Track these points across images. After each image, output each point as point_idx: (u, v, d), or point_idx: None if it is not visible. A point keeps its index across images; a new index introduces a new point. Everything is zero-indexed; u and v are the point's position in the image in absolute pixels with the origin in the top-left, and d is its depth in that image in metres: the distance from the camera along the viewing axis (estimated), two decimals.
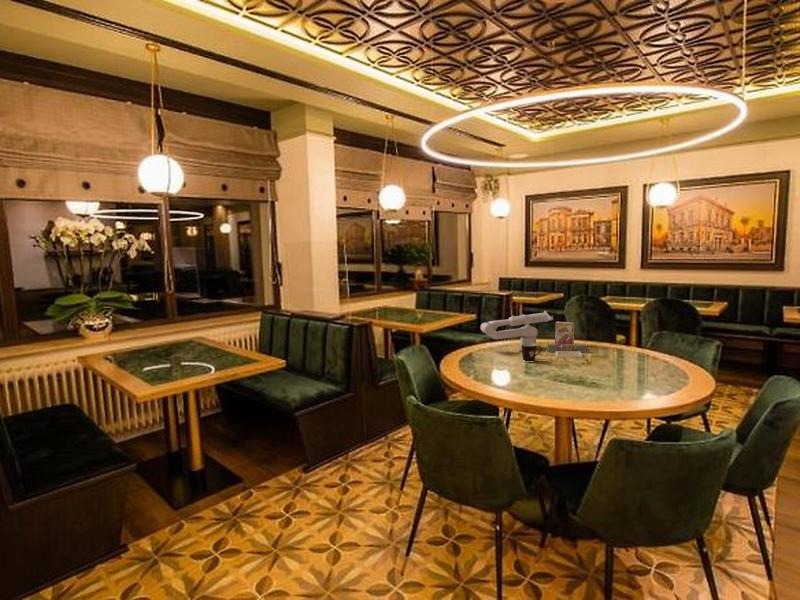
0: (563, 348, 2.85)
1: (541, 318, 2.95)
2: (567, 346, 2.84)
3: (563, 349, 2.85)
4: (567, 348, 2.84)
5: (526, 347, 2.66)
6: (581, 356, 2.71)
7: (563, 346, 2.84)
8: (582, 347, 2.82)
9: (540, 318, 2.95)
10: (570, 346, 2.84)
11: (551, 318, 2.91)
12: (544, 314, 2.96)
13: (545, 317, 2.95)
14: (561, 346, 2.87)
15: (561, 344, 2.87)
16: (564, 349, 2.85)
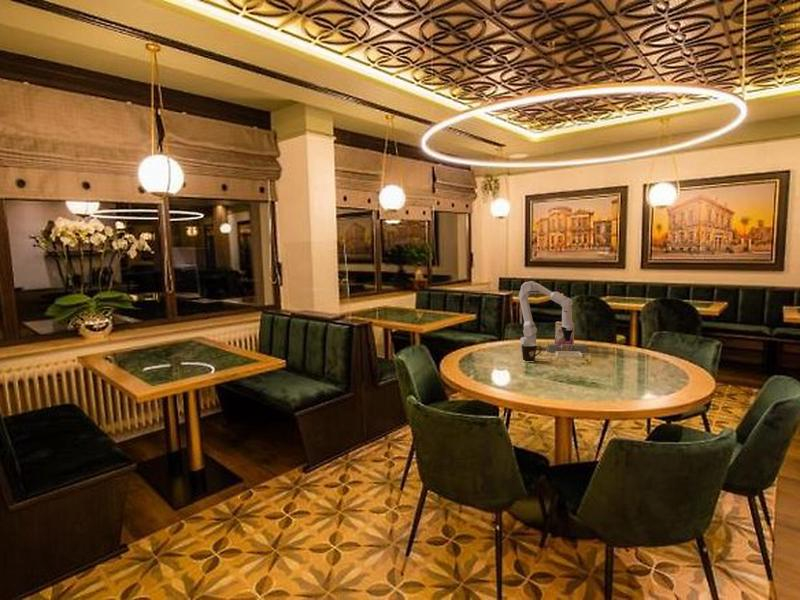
0: (563, 348, 2.85)
1: (567, 319, 2.81)
2: (567, 346, 2.84)
3: (563, 349, 2.85)
4: (567, 348, 2.84)
5: (526, 347, 2.66)
6: (581, 356, 2.71)
7: (563, 346, 2.84)
8: (582, 347, 2.82)
9: (567, 318, 2.81)
10: (570, 346, 2.84)
11: (568, 328, 2.78)
12: (570, 323, 2.82)
13: (567, 324, 2.82)
14: (561, 346, 2.87)
15: (561, 344, 2.87)
16: (564, 349, 2.85)
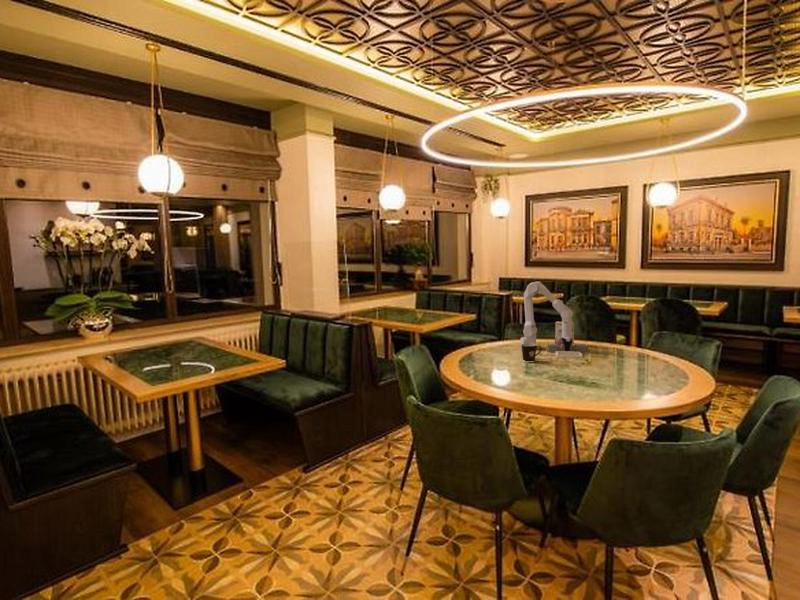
0: (563, 348, 2.85)
1: (567, 330, 2.82)
2: None
3: (563, 349, 2.85)
4: None
5: (526, 347, 2.66)
6: (581, 356, 2.71)
7: (563, 346, 2.84)
8: (582, 347, 2.82)
9: (567, 329, 2.82)
10: (570, 346, 2.84)
11: (568, 339, 2.78)
12: (570, 334, 2.83)
13: (567, 335, 2.82)
14: (561, 346, 2.87)
15: (561, 344, 2.87)
16: (564, 349, 2.85)
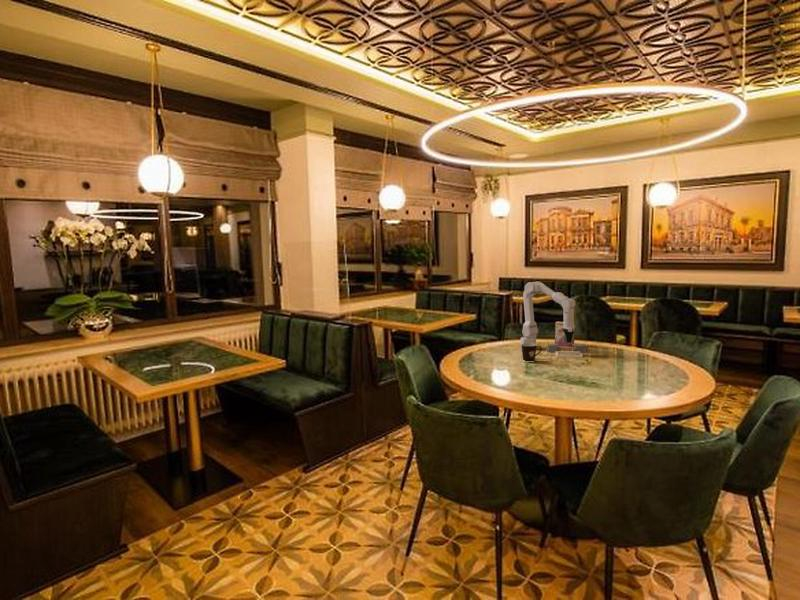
0: (565, 339, 2.77)
1: (569, 321, 2.74)
2: None
3: (565, 340, 2.77)
4: None
5: (526, 347, 2.66)
6: (581, 356, 2.71)
7: (565, 337, 2.77)
8: (582, 347, 2.82)
9: (569, 320, 2.74)
10: (572, 337, 2.76)
11: (570, 330, 2.70)
12: (572, 325, 2.75)
13: (569, 325, 2.74)
14: (563, 337, 2.79)
15: (563, 335, 2.79)
16: (566, 340, 2.77)
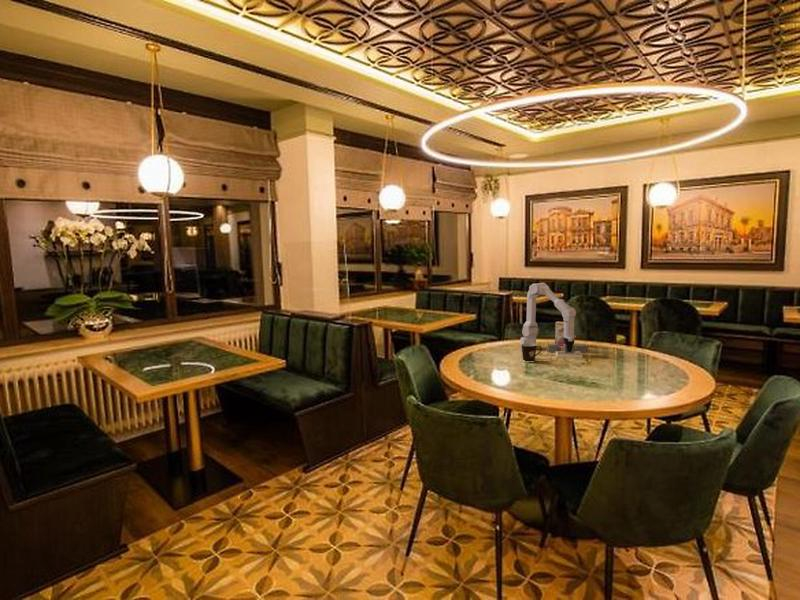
0: (565, 348, 2.75)
1: (569, 330, 2.73)
2: None
3: (565, 349, 2.75)
4: None
5: (526, 347, 2.66)
6: (581, 356, 2.71)
7: (565, 346, 2.75)
8: (582, 347, 2.82)
9: (569, 329, 2.73)
10: None
11: (570, 339, 2.69)
12: (572, 334, 2.73)
13: (569, 334, 2.73)
14: (563, 346, 2.78)
15: (563, 344, 2.78)
16: (566, 349, 2.75)
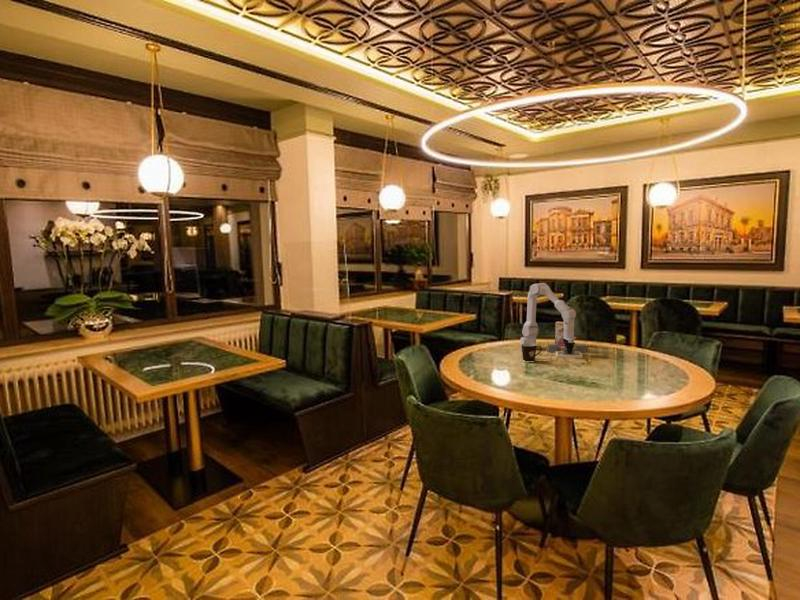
0: (565, 352, 2.75)
1: (569, 331, 2.73)
2: None
3: (565, 353, 2.75)
4: None
5: (526, 347, 2.66)
6: (581, 356, 2.71)
7: (565, 350, 2.75)
8: (582, 347, 2.82)
9: (569, 330, 2.73)
10: (572, 350, 2.74)
11: (570, 341, 2.69)
12: (572, 335, 2.73)
13: (569, 336, 2.73)
14: (563, 350, 2.78)
15: (563, 348, 2.78)
16: (566, 353, 2.75)
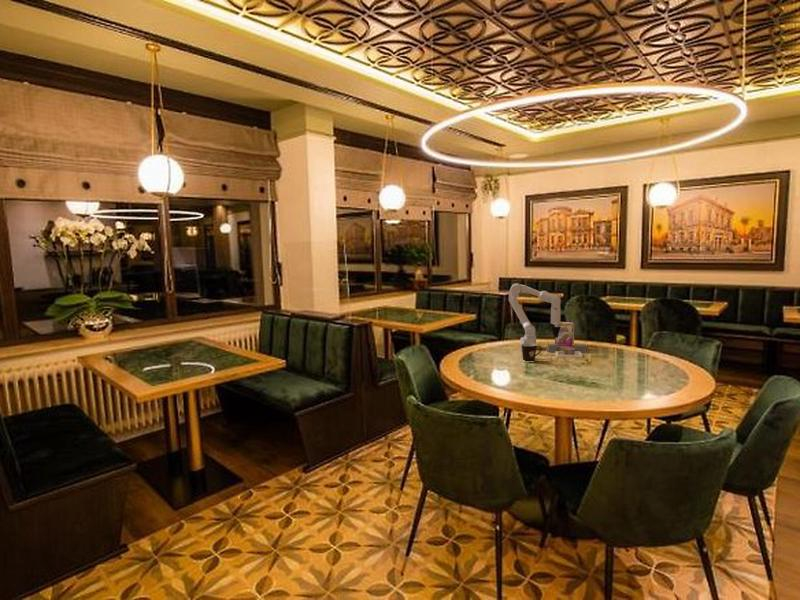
0: (565, 352, 2.75)
1: (555, 316, 2.90)
2: (569, 350, 2.75)
3: (565, 353, 2.75)
4: (569, 352, 2.75)
5: (526, 347, 2.66)
6: (581, 356, 2.71)
7: (565, 350, 2.75)
8: (582, 347, 2.82)
9: (555, 315, 2.90)
10: (572, 350, 2.74)
11: (556, 325, 2.86)
12: (559, 320, 2.90)
13: (556, 320, 2.90)
14: (563, 350, 2.78)
15: (563, 348, 2.78)
16: (566, 353, 2.75)
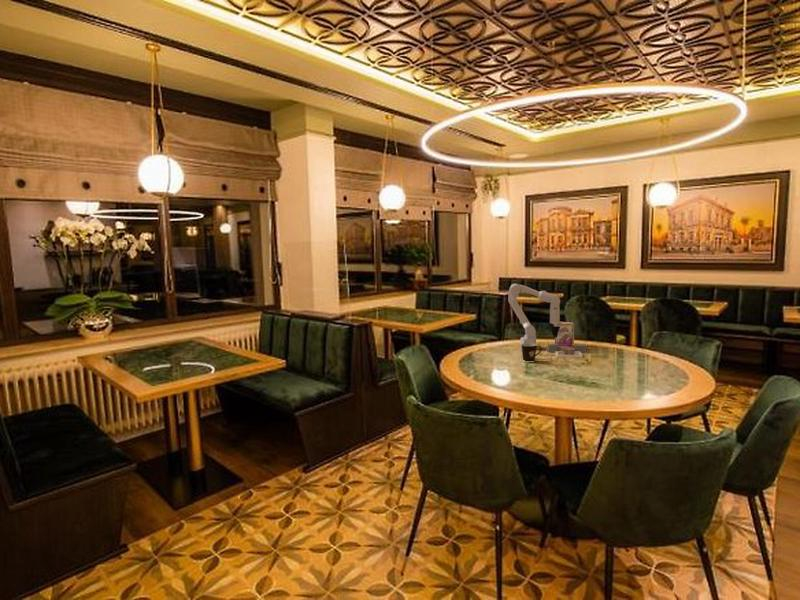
0: (565, 352, 2.75)
1: (555, 316, 2.91)
2: (569, 350, 2.75)
3: (565, 353, 2.75)
4: (569, 352, 2.75)
5: (526, 347, 2.66)
6: (581, 356, 2.71)
7: (565, 350, 2.75)
8: (582, 347, 2.82)
9: (555, 315, 2.91)
10: (572, 350, 2.74)
11: (555, 324, 2.87)
12: (558, 320, 2.91)
13: (555, 320, 2.91)
14: (563, 350, 2.78)
15: (563, 348, 2.78)
16: (566, 353, 2.75)
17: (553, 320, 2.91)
